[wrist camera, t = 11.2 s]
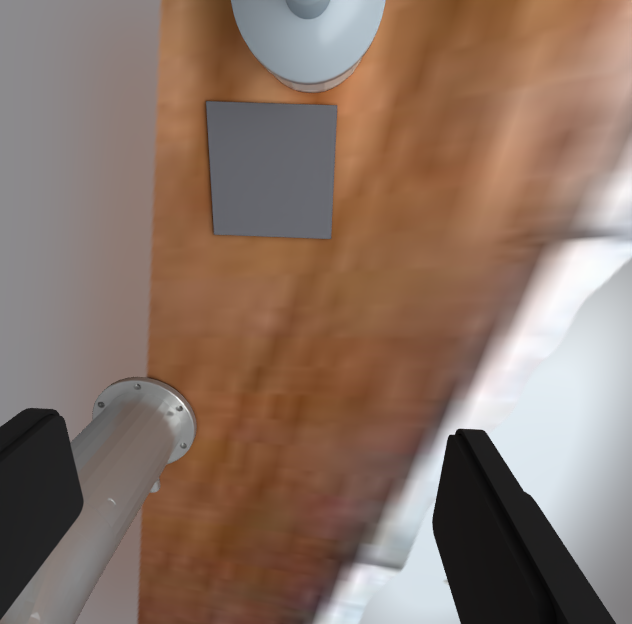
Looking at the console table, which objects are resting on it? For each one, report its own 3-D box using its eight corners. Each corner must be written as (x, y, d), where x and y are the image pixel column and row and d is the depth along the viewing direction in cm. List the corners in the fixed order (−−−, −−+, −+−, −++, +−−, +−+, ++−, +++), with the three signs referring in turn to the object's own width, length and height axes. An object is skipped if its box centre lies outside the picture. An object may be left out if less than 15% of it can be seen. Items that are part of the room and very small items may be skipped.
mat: (330, 238, 37) (330, 238, 36) (215, 233, 37) (214, 234, 37) (337, 106, 33) (337, 105, 32) (207, 102, 33) (206, 101, 33)
